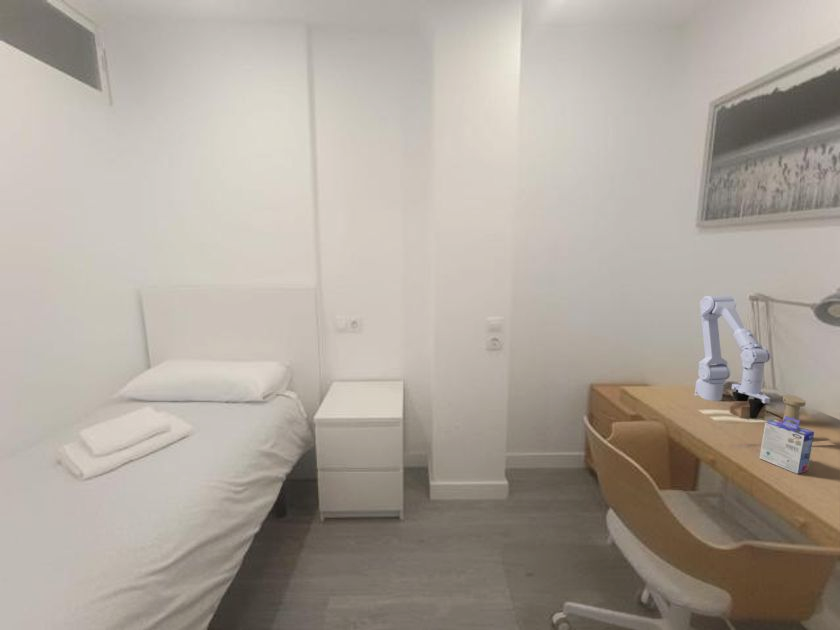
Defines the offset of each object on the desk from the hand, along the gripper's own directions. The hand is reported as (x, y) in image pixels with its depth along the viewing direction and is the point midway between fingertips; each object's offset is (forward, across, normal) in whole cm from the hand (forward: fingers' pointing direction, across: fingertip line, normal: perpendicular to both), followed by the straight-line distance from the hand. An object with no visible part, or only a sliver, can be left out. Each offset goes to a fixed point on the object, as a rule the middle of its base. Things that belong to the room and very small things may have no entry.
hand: (747, 414), depth 149 cm
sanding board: (+2, 0, -3) cm, 3 cm away
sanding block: (0, 0, 0) cm, 0 cm away
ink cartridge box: (+2, +30, -15) cm, 34 cm away
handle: (+2, +17, -1) cm, 17 cm away
